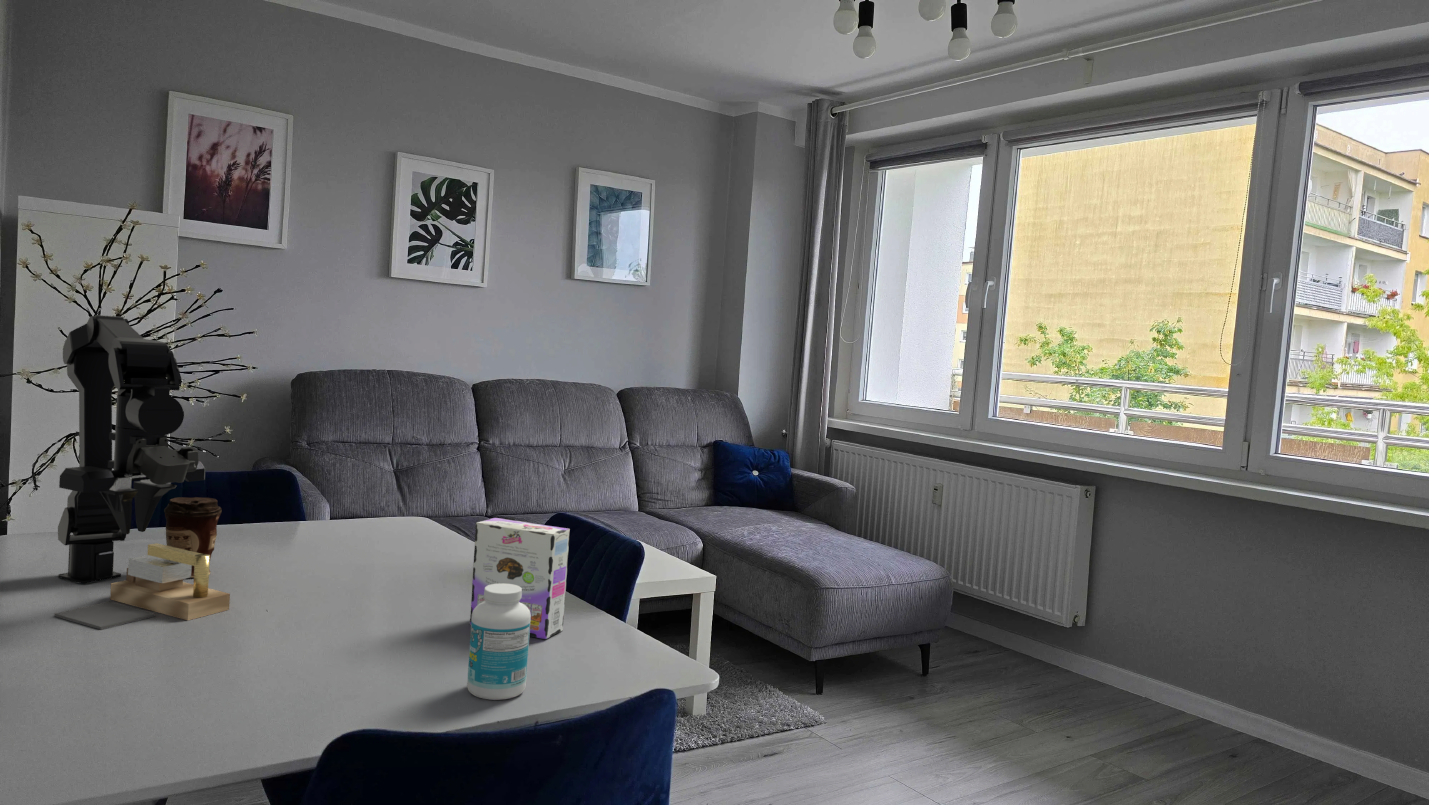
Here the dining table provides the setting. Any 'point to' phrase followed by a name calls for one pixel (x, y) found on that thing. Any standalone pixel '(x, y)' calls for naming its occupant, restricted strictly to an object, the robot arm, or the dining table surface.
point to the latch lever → (186, 557)
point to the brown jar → (192, 524)
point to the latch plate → (168, 597)
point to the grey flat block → (158, 569)
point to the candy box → (524, 568)
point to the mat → (104, 615)
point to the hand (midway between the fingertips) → (133, 532)
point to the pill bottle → (499, 644)
